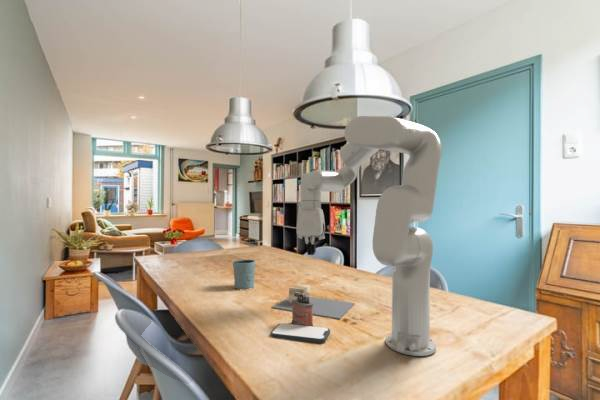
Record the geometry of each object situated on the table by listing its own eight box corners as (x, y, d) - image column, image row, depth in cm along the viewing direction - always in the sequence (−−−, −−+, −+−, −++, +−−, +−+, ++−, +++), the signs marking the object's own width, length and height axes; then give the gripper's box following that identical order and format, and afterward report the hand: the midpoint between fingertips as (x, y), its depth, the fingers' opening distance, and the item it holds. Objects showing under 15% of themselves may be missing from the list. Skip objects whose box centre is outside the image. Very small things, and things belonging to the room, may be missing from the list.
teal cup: (253, 290, 136) (253, 263, 136) (230, 290, 136) (230, 263, 137) (256, 284, 146) (256, 259, 147) (235, 284, 146) (235, 259, 147)
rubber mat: (339, 319, 102) (339, 318, 102) (271, 307, 113) (271, 306, 113) (354, 304, 118) (354, 302, 118) (293, 295, 129) (293, 294, 129)
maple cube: (289, 287, 117) (289, 303, 117) (303, 289, 114) (303, 306, 114) (296, 284, 122) (296, 299, 122) (310, 285, 120) (310, 301, 119)
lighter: (315, 327, 95) (315, 294, 95) (308, 330, 92) (308, 297, 93) (296, 320, 100) (296, 289, 101) (289, 323, 98) (289, 291, 98)
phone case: (269, 339, 88) (324, 345, 83) (269, 333, 88) (324, 339, 83) (280, 327, 96) (330, 333, 92) (280, 322, 97) (330, 327, 92)
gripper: (288, 205, 117) (288, 254, 116) (325, 205, 110) (326, 257, 110) (297, 206, 123) (297, 252, 123) (333, 205, 117) (333, 254, 116)
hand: (311, 254), depth 116 cm, fingers closed
